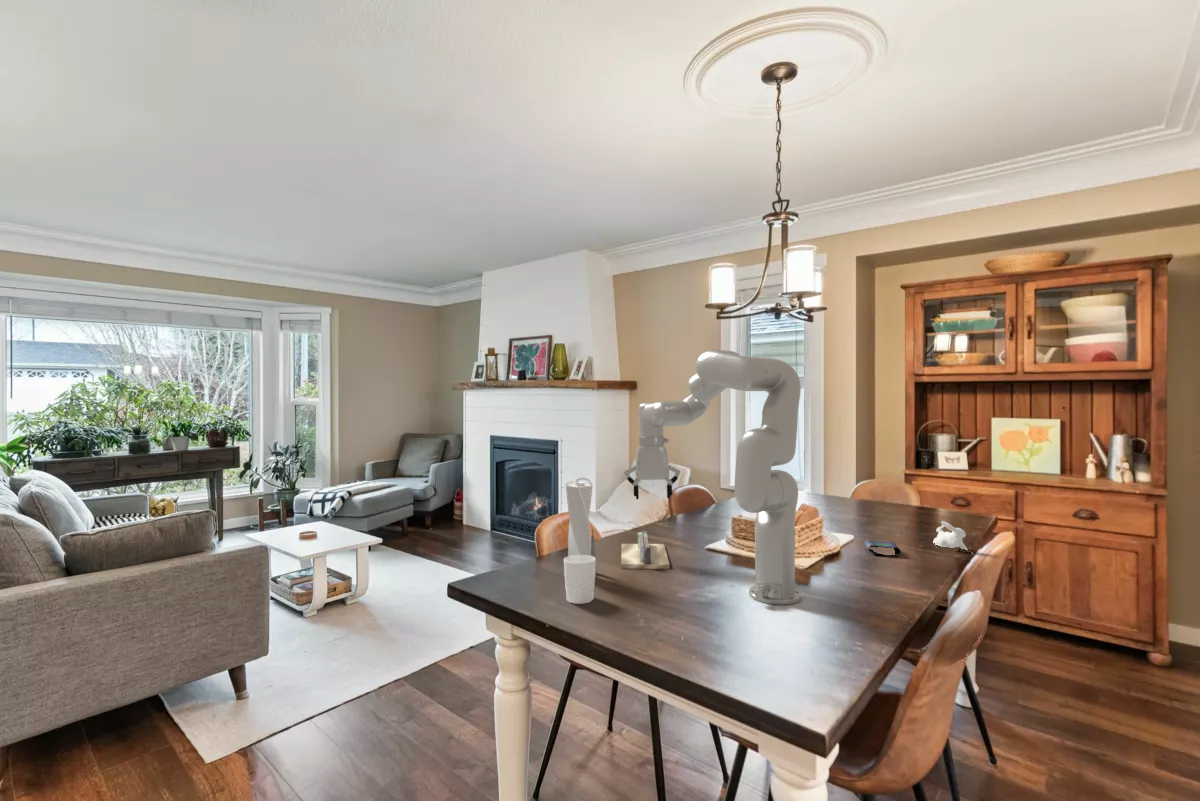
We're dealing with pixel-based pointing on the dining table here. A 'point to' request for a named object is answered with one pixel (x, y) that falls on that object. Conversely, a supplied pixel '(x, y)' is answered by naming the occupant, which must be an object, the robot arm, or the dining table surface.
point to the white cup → (579, 578)
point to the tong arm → (641, 546)
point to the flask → (882, 544)
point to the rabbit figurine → (950, 537)
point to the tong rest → (652, 556)
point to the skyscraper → (580, 519)
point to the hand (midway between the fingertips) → (652, 498)
